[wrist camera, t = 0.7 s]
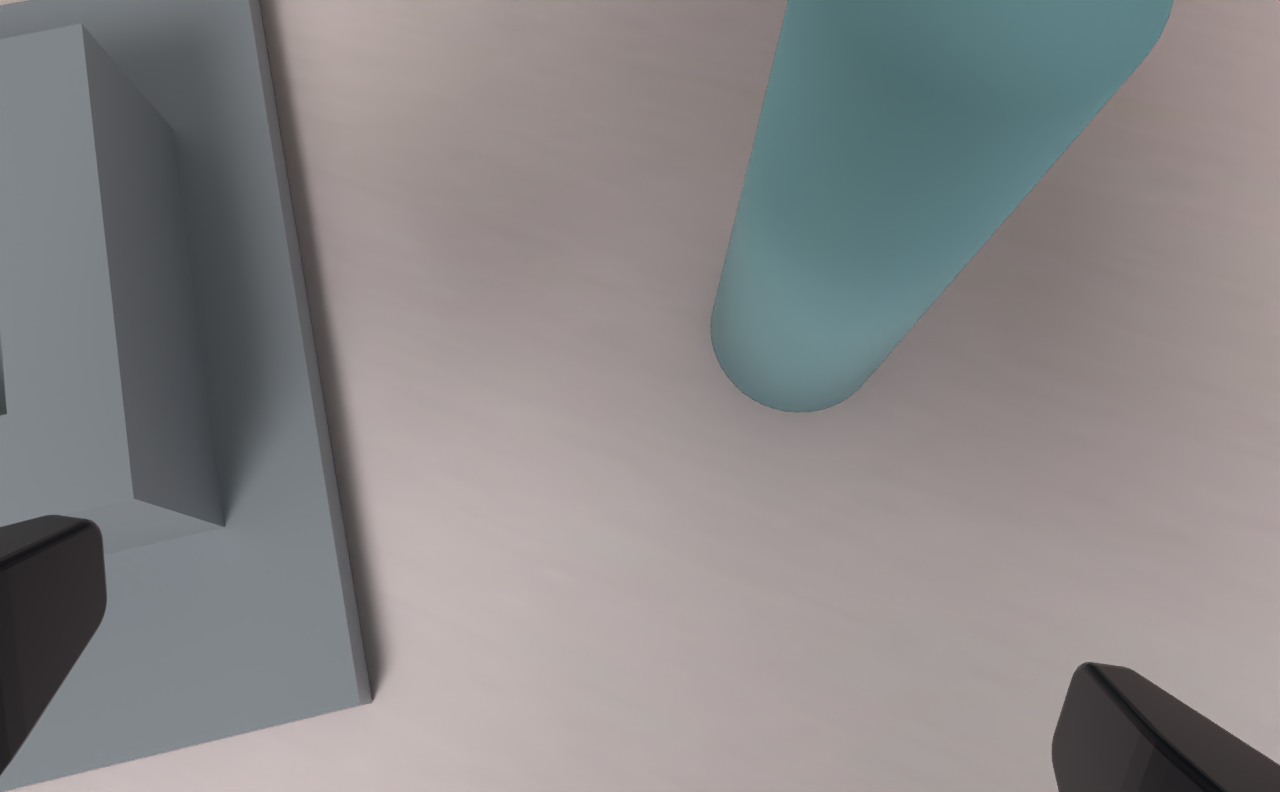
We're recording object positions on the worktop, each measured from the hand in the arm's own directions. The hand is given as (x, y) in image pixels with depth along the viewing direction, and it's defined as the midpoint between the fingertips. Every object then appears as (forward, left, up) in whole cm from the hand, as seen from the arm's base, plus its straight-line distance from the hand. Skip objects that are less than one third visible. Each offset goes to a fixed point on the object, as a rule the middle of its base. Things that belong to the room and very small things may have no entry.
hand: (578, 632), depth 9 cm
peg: (+6, -6, -13) cm, 15 cm away
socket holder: (+9, +12, -13) cm, 20 cm away
